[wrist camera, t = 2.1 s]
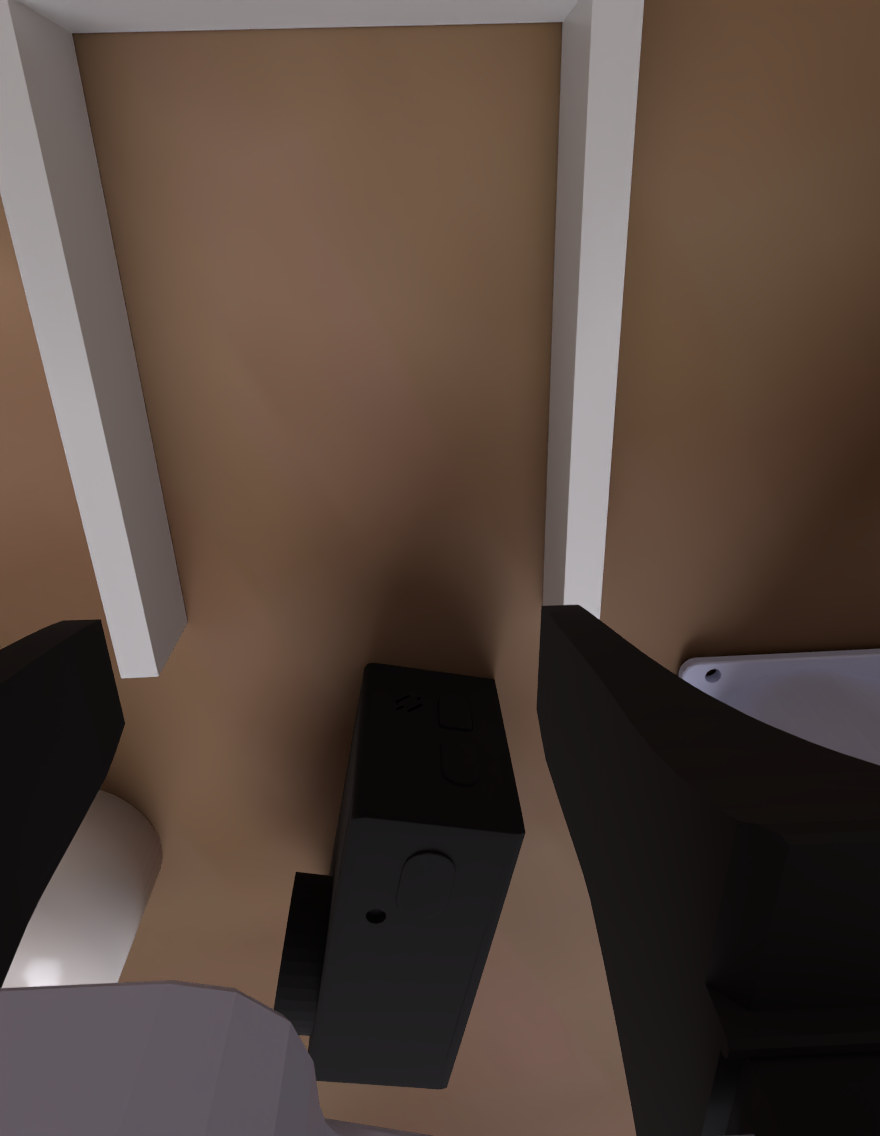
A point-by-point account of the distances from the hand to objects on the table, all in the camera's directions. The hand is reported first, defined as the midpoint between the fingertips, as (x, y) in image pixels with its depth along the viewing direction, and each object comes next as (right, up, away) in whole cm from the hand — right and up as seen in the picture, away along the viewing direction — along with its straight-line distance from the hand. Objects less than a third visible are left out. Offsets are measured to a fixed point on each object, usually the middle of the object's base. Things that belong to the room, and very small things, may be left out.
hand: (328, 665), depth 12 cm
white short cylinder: (-11, -8, +14) cm, 20 cm away
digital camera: (0, -6, +14) cm, 15 cm away
